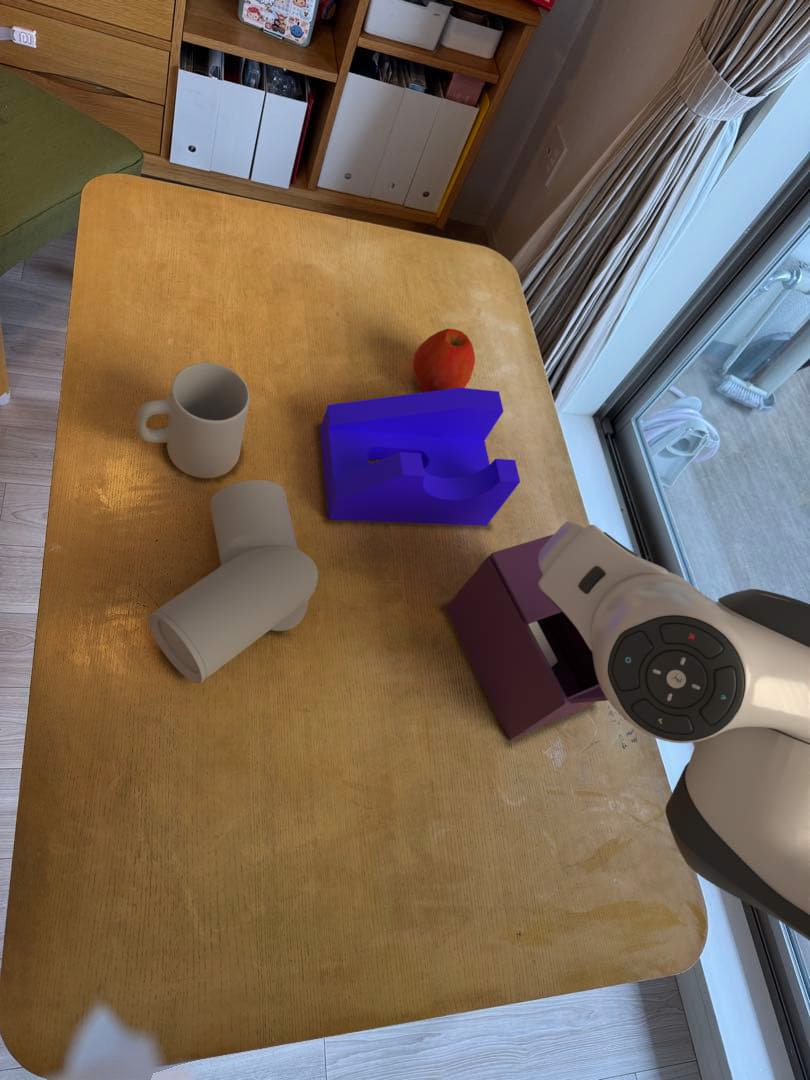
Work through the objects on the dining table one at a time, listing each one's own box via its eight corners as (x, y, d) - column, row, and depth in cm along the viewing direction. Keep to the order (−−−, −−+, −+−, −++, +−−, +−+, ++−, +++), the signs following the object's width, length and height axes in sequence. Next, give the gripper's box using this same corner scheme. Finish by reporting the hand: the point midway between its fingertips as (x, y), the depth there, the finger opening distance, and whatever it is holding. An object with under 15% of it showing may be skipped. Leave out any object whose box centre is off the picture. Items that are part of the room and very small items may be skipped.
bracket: (469, 440, 107) (498, 391, 98) (486, 525, 100) (520, 481, 92) (319, 428, 100) (337, 375, 91) (328, 519, 94) (348, 471, 85)
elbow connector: (336, 667, 83) (298, 509, 92) (336, 634, 74) (294, 460, 82) (168, 706, 80) (145, 538, 88) (146, 677, 71) (122, 492, 79)
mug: (231, 419, 97) (242, 360, 88) (246, 476, 93) (258, 420, 84) (131, 425, 92) (131, 363, 83) (142, 485, 88) (143, 427, 79)
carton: (590, 705, 92) (658, 663, 80) (509, 740, 87) (569, 701, 75) (524, 582, 98) (578, 525, 86) (444, 608, 92) (490, 552, 81)
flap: (656, 662, 80) (658, 665, 80) (568, 699, 75) (569, 703, 75) (717, 653, 73) (718, 657, 73) (624, 694, 67) (625, 699, 67)
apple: (394, 385, 108) (417, 331, 99) (424, 355, 112) (449, 301, 103) (441, 420, 107) (469, 368, 98) (470, 388, 112) (499, 336, 103)
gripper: (795, 694, 56) (754, 655, 69) (576, 509, 58) (577, 506, 72) (733, 756, 57) (704, 705, 70) (521, 572, 60) (532, 557, 73)
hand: (639, 604), depth 71 cm, fingers open, 8 cm apart
